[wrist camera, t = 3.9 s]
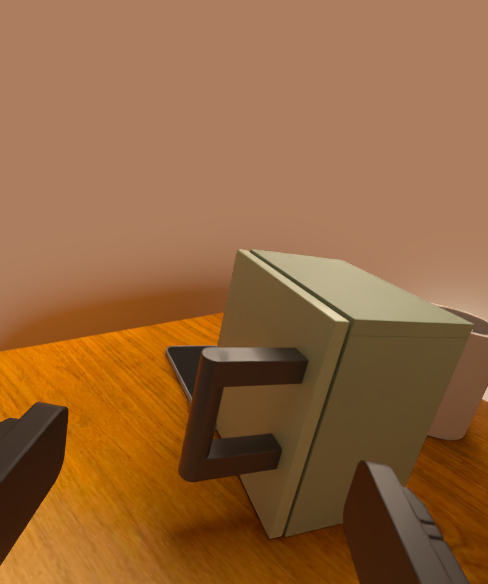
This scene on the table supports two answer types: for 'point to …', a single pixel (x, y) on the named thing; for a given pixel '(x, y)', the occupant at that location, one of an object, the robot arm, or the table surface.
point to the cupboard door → (262, 388)
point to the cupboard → (370, 381)
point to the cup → (464, 383)
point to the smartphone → (186, 366)
